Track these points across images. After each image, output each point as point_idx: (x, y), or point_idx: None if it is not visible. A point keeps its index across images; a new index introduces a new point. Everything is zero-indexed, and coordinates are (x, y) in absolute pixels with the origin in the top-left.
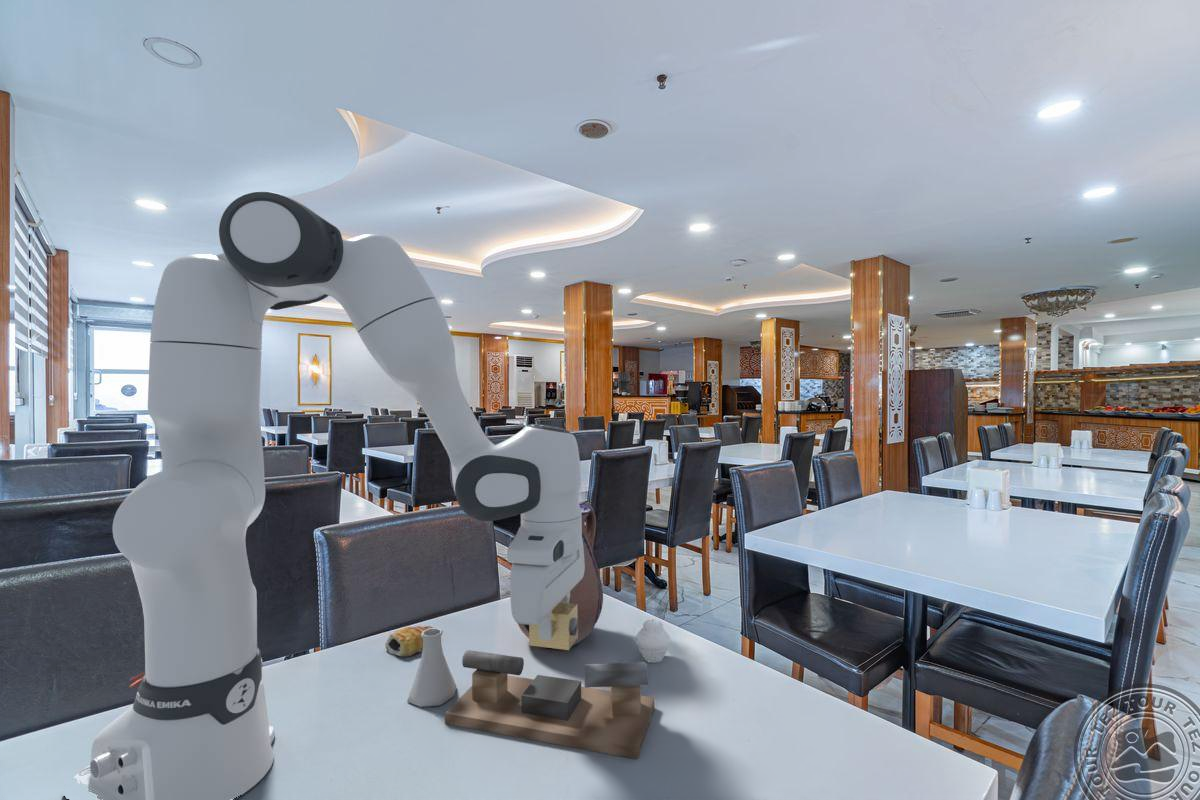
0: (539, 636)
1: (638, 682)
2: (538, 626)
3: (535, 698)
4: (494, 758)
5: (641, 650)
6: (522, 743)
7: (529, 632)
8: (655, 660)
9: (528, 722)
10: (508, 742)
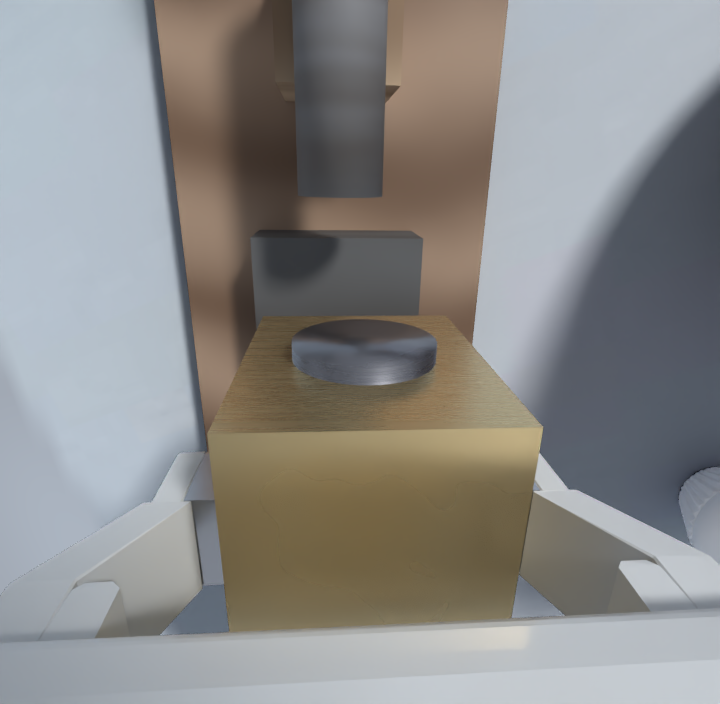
0: (179, 459)
1: None
2: (137, 510)
3: (254, 299)
4: (70, 218)
5: (709, 490)
6: (172, 272)
7: (252, 344)
8: (680, 508)
9: (217, 277)
10: (158, 226)
